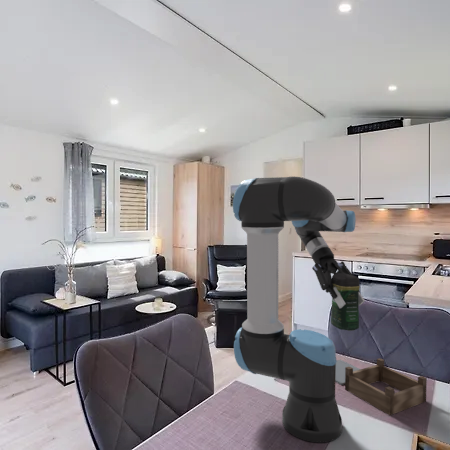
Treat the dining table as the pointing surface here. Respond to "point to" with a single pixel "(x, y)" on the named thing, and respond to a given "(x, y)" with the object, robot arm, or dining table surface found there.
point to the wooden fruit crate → (388, 400)
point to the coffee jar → (349, 292)
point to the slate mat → (342, 371)
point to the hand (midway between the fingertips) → (352, 304)
